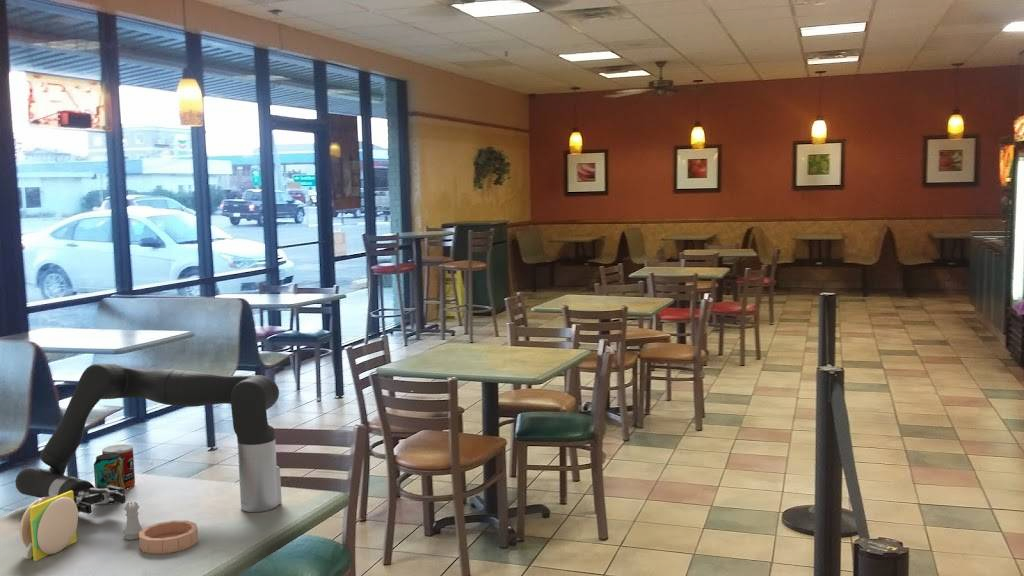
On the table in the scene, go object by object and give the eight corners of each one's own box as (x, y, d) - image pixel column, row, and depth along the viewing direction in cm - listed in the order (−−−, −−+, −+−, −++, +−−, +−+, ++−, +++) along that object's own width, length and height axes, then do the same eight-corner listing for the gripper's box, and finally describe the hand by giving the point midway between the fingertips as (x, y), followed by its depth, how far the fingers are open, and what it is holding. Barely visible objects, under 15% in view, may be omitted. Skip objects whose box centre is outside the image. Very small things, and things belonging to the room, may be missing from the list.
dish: (176, 530, 219) (176, 517, 218) (209, 540, 211) (208, 527, 211) (128, 546, 209) (127, 533, 208) (160, 558, 201) (159, 544, 201)
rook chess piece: (131, 542, 212) (129, 508, 211) (119, 538, 214) (117, 505, 213) (148, 535, 215) (146, 502, 215) (136, 532, 218) (133, 499, 217)
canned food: (124, 491, 249) (121, 452, 248) (98, 490, 251) (95, 451, 250) (141, 483, 257) (138, 444, 256) (115, 482, 258) (113, 443, 257)
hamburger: (55, 539, 215) (51, 488, 214) (84, 542, 212) (81, 491, 211) (14, 558, 204) (9, 505, 202) (44, 561, 201) (40, 508, 200)
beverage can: (118, 504, 238) (115, 459, 237) (91, 505, 239) (88, 460, 237) (129, 496, 245) (126, 452, 244) (103, 496, 246) (100, 452, 244)
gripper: (42, 485, 224) (77, 497, 214) (97, 471, 235) (133, 481, 226) (44, 515, 225) (79, 528, 215) (99, 499, 236) (135, 510, 226)
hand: (107, 504), depth 220 cm, fingers open, 8 cm apart
